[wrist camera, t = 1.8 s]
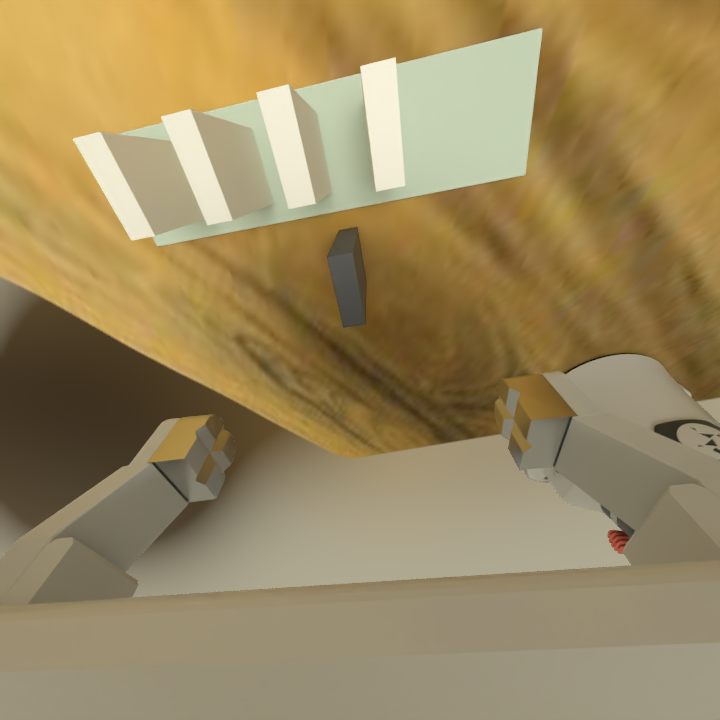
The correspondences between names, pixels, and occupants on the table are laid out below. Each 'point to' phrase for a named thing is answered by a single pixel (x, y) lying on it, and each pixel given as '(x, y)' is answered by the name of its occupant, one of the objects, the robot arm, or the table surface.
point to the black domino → (349, 277)
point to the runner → (403, 131)
